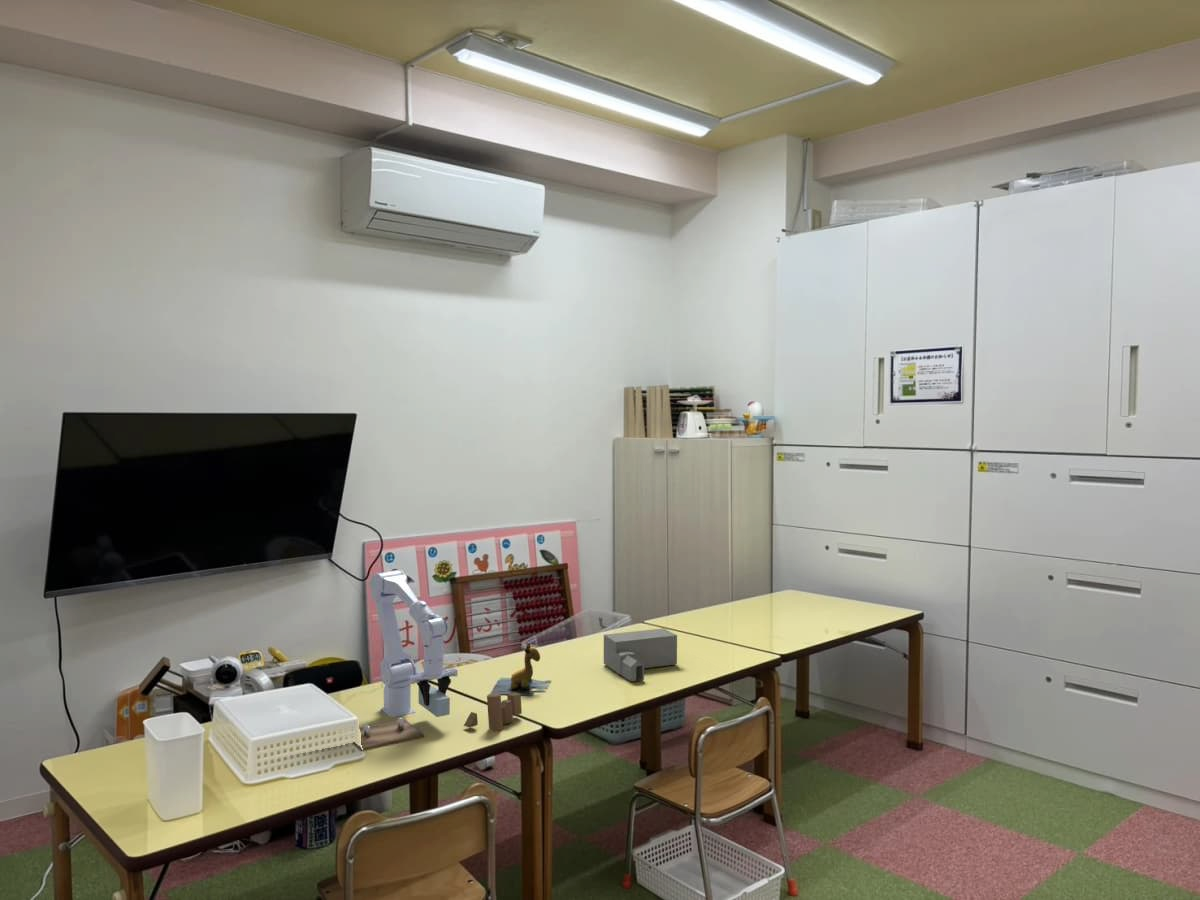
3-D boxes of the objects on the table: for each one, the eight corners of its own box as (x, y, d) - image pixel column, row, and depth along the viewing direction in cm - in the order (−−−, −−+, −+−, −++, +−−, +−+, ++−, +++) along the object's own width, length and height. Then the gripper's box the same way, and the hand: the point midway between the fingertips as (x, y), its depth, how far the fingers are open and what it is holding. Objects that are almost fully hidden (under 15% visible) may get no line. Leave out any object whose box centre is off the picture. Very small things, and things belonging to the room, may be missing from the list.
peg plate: (345, 734, 252) (345, 720, 252) (404, 722, 262) (404, 708, 262) (362, 751, 240) (361, 736, 240) (423, 738, 250) (423, 724, 250)
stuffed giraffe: (543, 698, 286) (543, 650, 285) (489, 696, 288) (489, 648, 287) (551, 682, 302) (551, 637, 301) (500, 681, 304) (500, 635, 303)
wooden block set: (512, 716, 269) (510, 682, 269) (530, 721, 262) (528, 687, 262) (463, 731, 256) (461, 696, 256) (480, 737, 250) (478, 701, 250)
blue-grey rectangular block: (418, 703, 264) (418, 687, 264) (430, 700, 267) (430, 684, 266) (436, 717, 253) (436, 700, 253) (449, 714, 255) (449, 697, 255)
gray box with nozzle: (629, 681, 303) (630, 650, 303) (603, 663, 325) (603, 634, 324) (692, 673, 313) (693, 643, 312) (663, 656, 334) (663, 628, 334)
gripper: (415, 665, 252) (415, 711, 252) (461, 657, 260) (461, 702, 260) (406, 659, 258) (406, 704, 258) (452, 652, 266) (452, 696, 266)
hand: (433, 703), depth 260 cm, fingers closed on blue-grey rectangular block, 4 cm apart
